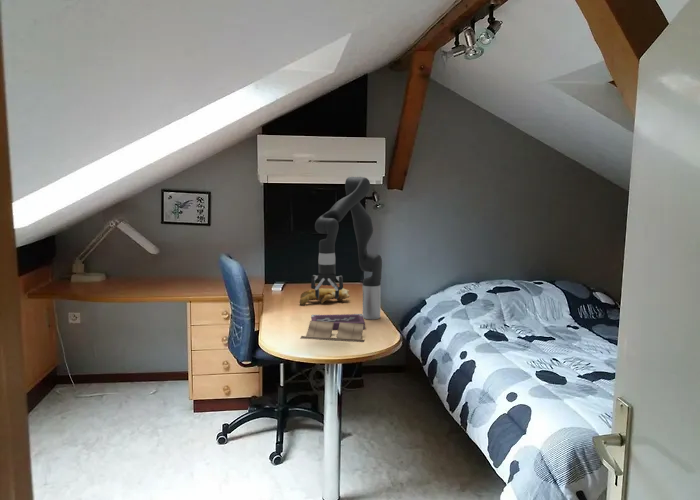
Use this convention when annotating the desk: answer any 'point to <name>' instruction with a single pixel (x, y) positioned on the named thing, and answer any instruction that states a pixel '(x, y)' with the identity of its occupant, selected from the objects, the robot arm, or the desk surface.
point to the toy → (323, 295)
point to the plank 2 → (350, 330)
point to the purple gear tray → (339, 319)
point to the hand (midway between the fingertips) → (327, 298)
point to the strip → (332, 339)
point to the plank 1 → (320, 329)
